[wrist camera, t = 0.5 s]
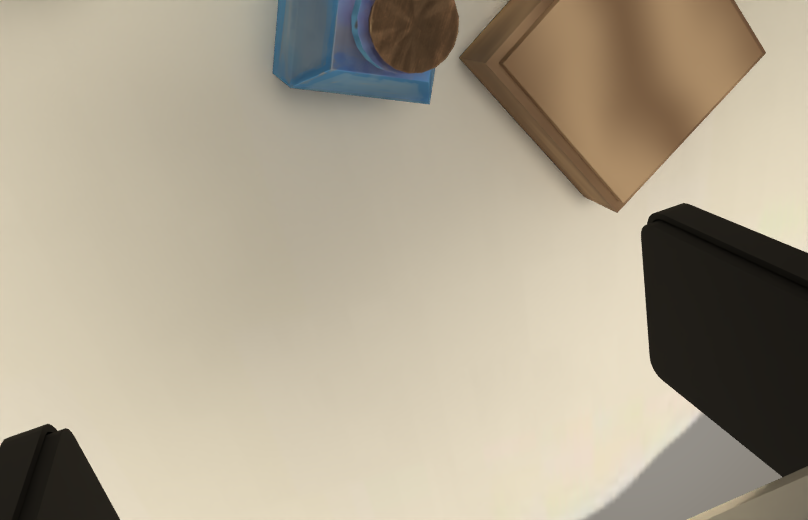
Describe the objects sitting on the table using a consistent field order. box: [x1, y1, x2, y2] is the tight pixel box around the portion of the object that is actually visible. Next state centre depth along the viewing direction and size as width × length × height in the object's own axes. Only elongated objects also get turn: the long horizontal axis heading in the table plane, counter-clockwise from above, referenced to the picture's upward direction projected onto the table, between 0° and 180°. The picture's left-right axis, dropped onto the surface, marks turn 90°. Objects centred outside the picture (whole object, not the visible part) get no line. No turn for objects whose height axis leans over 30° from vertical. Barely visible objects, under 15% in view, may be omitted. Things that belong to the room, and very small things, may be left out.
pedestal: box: [459, 0, 766, 213], centre depth 36 cm, size 12×12×4 cm
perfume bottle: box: [273, 0, 459, 104], centre depth 28 cm, size 6×6×12 cm
